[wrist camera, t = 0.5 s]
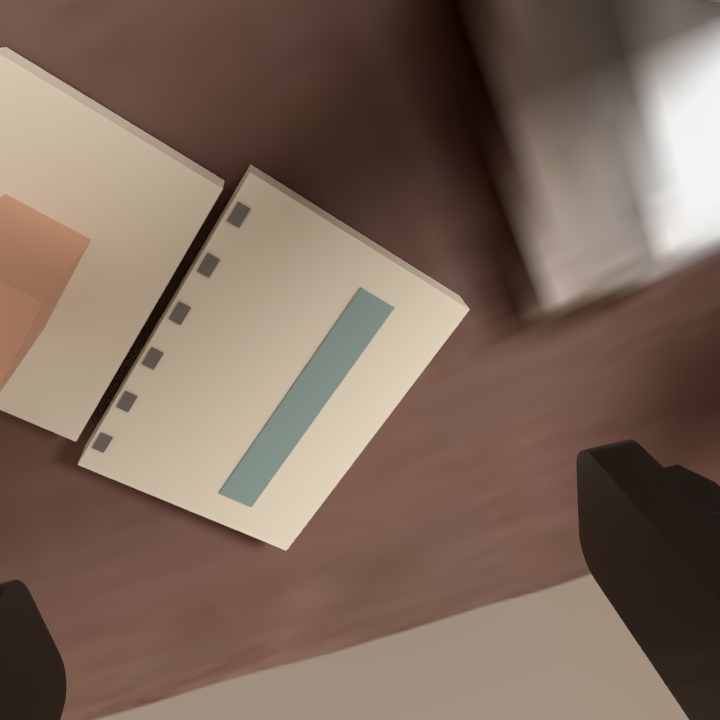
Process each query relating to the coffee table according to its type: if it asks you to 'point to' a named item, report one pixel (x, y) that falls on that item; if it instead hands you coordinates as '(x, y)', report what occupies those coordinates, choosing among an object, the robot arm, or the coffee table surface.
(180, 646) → the coffee table surface
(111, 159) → the block on cream base
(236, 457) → the board
